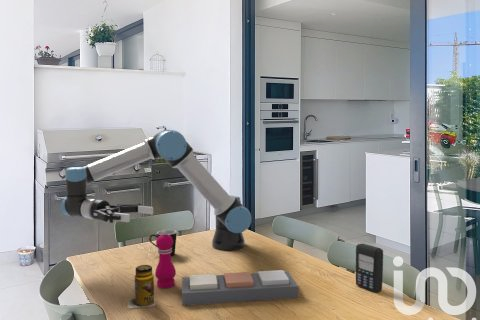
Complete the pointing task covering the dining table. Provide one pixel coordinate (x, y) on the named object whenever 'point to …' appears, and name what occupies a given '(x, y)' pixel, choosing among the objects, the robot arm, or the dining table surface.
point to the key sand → (203, 282)
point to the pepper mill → (165, 262)
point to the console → (238, 292)
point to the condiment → (143, 288)
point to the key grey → (273, 277)
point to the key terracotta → (238, 279)
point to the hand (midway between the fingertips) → (141, 214)
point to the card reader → (369, 267)
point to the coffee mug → (169, 232)
